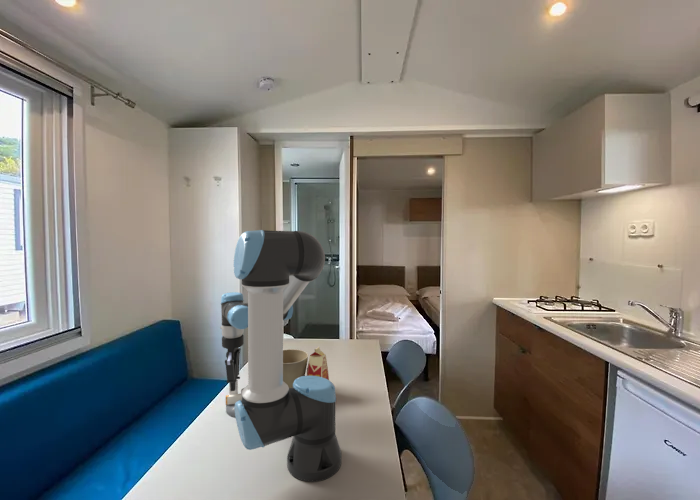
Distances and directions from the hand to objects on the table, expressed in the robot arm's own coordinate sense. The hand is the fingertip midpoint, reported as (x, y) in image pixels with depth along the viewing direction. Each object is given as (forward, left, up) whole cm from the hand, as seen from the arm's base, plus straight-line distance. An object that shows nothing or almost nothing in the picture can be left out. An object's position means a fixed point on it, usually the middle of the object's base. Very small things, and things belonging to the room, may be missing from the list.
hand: (233, 397), depth 120 cm
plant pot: (+14, -16, -4) cm, 21 cm away
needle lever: (0, -2, -1) cm, 3 cm away
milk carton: (+16, -27, -4) cm, 31 cm away
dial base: (+1, -5, -3) cm, 6 cm away
